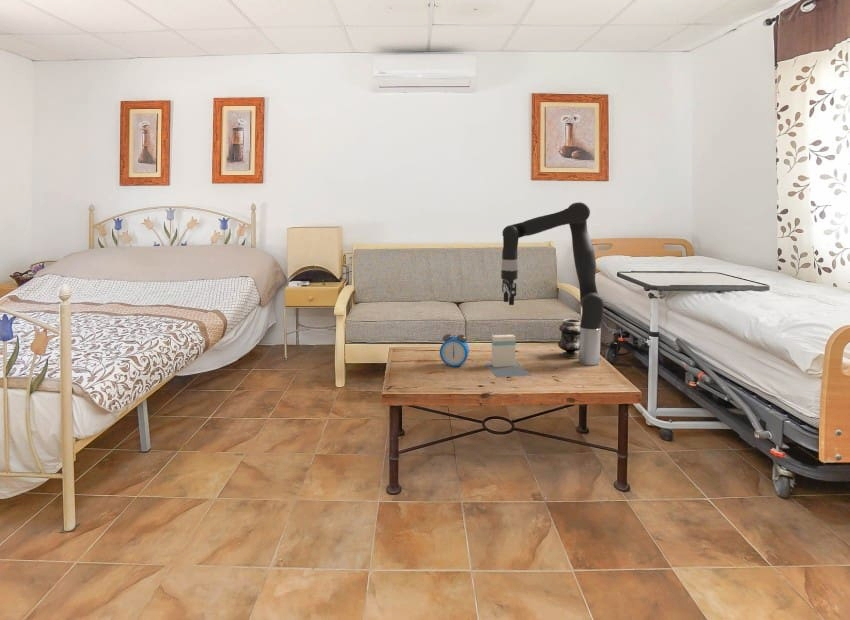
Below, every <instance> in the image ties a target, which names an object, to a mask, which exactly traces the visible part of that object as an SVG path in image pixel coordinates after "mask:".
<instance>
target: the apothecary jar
mask: <svg viewBox="0 0 850 620" xmlns="http://www.w3.org/2000/svg"><path fill="white" fill-rule="evenodd" d="M580 322H581V320H580V319H575V318H565V319H563V320H562V323H561V324H560V325H559V328H558V329H559V331H560V332H561V335H560V336H561V337H560V340H559V341H558V343H557V345H558V347H559V349H561V350H563V352H561V353H559V356H560V357H561V358H565V359H579V343H580Z"/></svg>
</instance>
